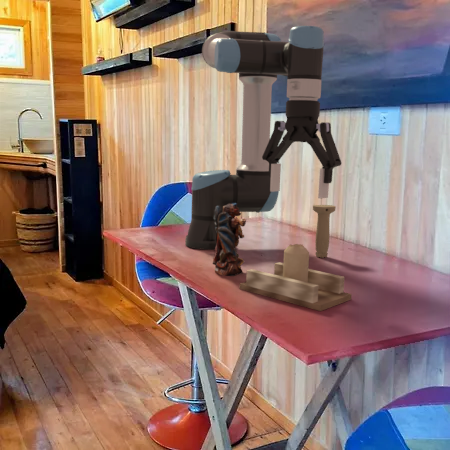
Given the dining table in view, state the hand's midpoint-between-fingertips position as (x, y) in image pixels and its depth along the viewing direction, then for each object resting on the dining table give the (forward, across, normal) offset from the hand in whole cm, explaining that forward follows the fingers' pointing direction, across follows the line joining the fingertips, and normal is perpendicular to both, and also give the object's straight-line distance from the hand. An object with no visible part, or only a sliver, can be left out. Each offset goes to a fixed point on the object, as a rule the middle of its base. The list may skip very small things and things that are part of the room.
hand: (298, 194), depth 129 cm
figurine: (+22, -18, -2) cm, 29 cm away
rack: (+22, +4, -6) cm, 23 cm away
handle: (+22, -13, +31) cm, 40 cm away
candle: (+20, +5, -6) cm, 22 cm away
